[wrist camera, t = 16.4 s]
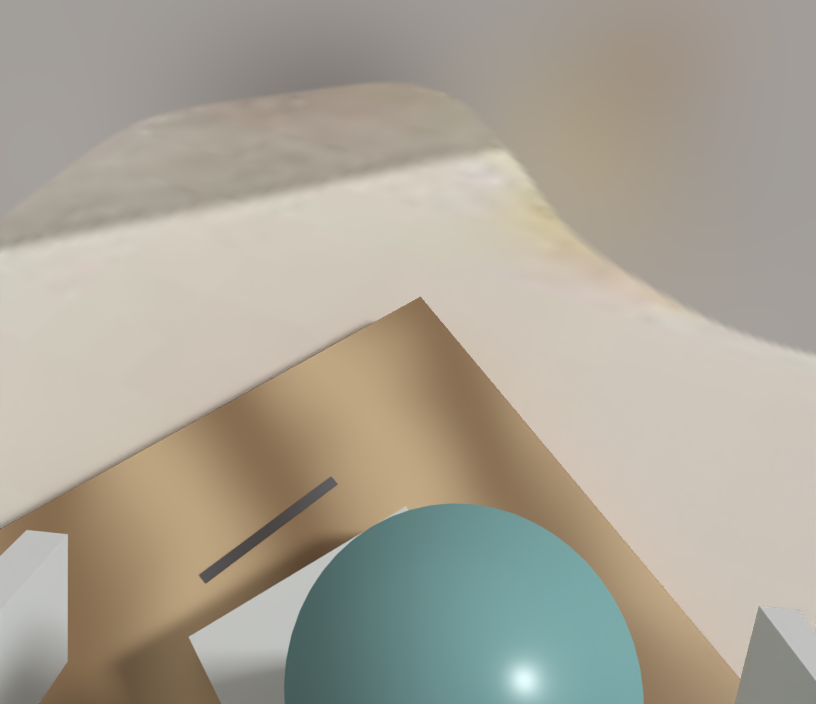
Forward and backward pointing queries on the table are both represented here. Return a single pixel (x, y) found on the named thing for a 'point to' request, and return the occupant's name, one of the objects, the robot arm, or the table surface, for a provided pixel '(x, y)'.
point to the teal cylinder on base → (430, 621)
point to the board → (323, 513)
